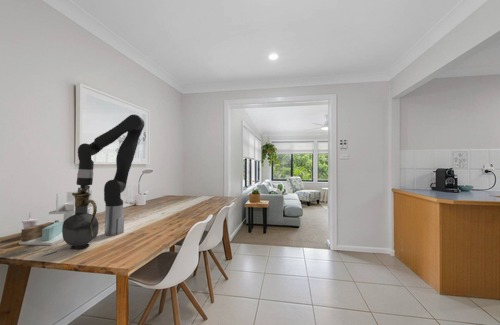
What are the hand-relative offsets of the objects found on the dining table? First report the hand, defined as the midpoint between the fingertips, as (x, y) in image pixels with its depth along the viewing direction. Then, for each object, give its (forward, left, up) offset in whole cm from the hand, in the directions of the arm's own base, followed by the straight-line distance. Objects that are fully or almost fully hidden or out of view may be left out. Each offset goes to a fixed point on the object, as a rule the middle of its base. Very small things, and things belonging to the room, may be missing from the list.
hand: (82, 204), depth 126 cm
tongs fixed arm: (+18, +8, -17) cm, 26 cm away
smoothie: (+27, +4, -19) cm, 33 cm away
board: (+11, +6, -19) cm, 22 cm away
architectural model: (+20, -20, -19) cm, 34 cm away
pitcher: (-16, +19, -19) cm, 31 cm away
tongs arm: (+12, +5, -17) cm, 22 cm away
